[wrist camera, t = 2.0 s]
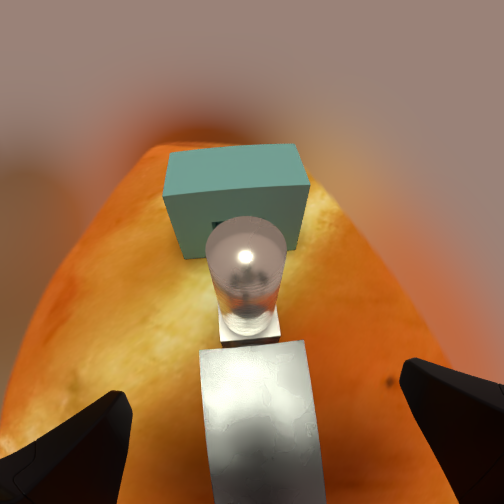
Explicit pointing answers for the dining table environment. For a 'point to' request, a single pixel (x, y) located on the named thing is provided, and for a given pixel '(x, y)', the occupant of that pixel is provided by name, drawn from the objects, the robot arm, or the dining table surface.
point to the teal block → (234, 191)
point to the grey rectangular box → (261, 425)
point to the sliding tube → (247, 279)
